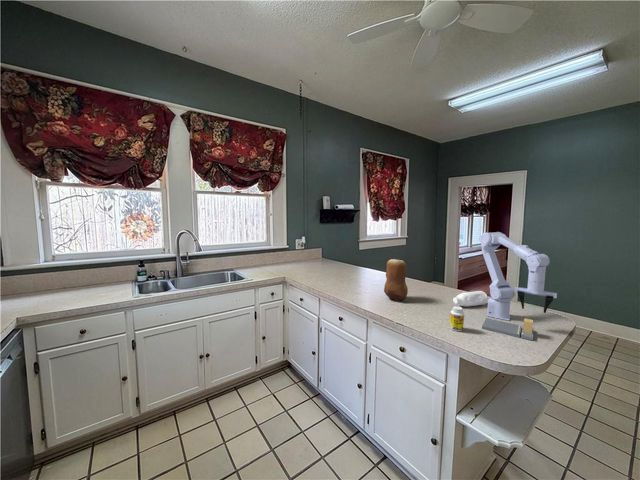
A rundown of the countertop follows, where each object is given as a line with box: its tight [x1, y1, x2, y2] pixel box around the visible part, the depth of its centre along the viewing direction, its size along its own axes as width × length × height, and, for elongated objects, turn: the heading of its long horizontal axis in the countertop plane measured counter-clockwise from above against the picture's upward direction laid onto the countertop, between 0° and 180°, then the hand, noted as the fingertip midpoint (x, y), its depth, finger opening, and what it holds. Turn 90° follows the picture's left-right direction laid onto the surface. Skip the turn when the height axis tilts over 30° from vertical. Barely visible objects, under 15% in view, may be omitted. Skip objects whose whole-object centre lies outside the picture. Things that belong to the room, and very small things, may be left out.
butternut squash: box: [383, 258, 409, 301], centre depth 161 cm, size 14×13×25 cm
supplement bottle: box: [449, 305, 465, 332], centre depth 121 cm, size 6×6×10 cm
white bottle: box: [452, 290, 488, 308], centre depth 151 cm, size 8×19×8 cm, turn 105°
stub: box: [520, 317, 535, 341], centre depth 116 cm, size 4×12×6 cm, turn 140°
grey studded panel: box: [481, 317, 522, 339], centre depth 122 cm, size 14×12×1 cm
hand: (533, 310), depth 119 cm, fingers open, 7 cm apart
